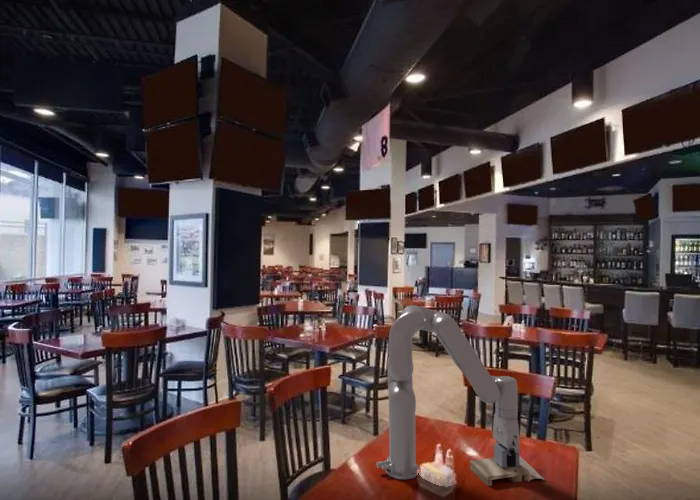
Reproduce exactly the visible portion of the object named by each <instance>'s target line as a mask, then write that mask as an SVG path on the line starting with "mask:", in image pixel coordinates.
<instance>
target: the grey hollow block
mask: <svg viewBox="0 0 700 500" xmlns="http://www.w3.org/2000/svg"><path fill="white" fill-rule="evenodd" d="M493 445H494V446H493V450H494V451H493V455H494V456H493V458H494V461H495V462H496V463H497V464H498V465H500V466H501V467H502V468H503V467H508V466H507V455H508V450H507V448H506V447H504V446H503V445H502V444H497V443H496V444H493ZM512 446H513V444H512ZM510 450H511V451H512V450H513V448H510ZM519 456H520V452H518V453H517V455H516V466H517V465H520V461H519Z"/></svg>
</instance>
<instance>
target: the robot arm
mask: <svg viewBox="0 0 700 500" xmlns="http://www.w3.org/2000/svg"><path fill="white" fill-rule="evenodd" d="M420 330H421V331H425V332H430V333H434V334H435V336H436V337H437V338H438V340H439V341H440V343H441V345H442V346H443V347H444V349H445V350H446V352H447V354H448V356H449V357H450V358H451V360H452V362H453V363H454V364H455V366H456V367H457V368H458V369H459V370H460V371H461V373H462V374H463V375H464V377H465V378H466V380H467V381H468V382H469V384H470V386H471V387H472V388H473V391H474V392H475V393H476V395H477V396H478V398H479V400H481V401H482V402H484V403H485V404H494V403H495V405H494V406H495V412H494V416H493V425H492V427H493V428H492V431H493V432H492V437H493V439H494V440H495V441H496V444H502V445H503V446H504V447H506V448H507V450H508V455H507V466H508V467H511V466H516V455H517V453H518V452H519V453H521V447H520V429H519V420H518V417H519V416H518V381H517V379H516V378H514V377H513V376H512V377H511V376H509V375H500V376H497V375H495V376H494V375H491V374H490V371H488V369H487V368H486V366H485V365H484V364H483V362H482V361H481V359H480V356H478V353H477V352H476V350H475V349H474V347H473V346H472V345H471V343H470V341H469V340H468V338H467V337H466V336H465V334H464V332H463V331H462V329H461V328H460V327H459V324H458V323H457V322H456V321H455V319H454V318H453V317H452V316H451V315H450V314H448V313H446V312H443V311H438V310H434V309H430V308H428V307H427V308H426V307H422V306H419V305H414V304H413V305H412V304H411V305H407V306H406V307H404V309H403V310H402V312H401V315H400V316H399V317H398V318H396V320H394V322H393V323H392V325H391V327H390V329H389V335H388V357H387V361H386V363H387V365H386V368H387V369H386V370H387V392H388V395H387V396H388V432H389V433H388V438H389V440H388V447H389V448H388V449H389V451H388V454H389V455H388V456H386V459H385V460H384V461H381V460H380V461H376V464H375V465H376V468H381V469H382V470H385V473H386V474H387V475H388V476H389V477H391V478H394V479H396V480H405V481H406V480H412V479H415V478H417V477H416V475H417V470H418V467H419V468H420V466H419V465H418V464H417V463H416V462H417V461H416V408H417V404H416V403H417V401H416V394H415V391H414V387H413V373H414V362H413V338H414V336H415V335H416V334H417V333H418V332H419V331H420ZM512 444H513V446H512ZM510 448H513V450H512V451H511V450H510Z"/></svg>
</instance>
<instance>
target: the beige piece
mask: <svg viewBox="0 0 700 500" xmlns="http://www.w3.org/2000/svg"><path fill="white" fill-rule="evenodd" d="M519 461H520V465H522V466H523V467H524V468H526V469H527V470H528V471H529V479H527V480H526V481H527V482H530V481H532V480H535V479H540V480H541V481H544V482H545V481H546V479H545V478H544V477H543V476H542V475H540V473H538V472H537V471H536V469H535V468H533V467H532V466H531V465H530V464H529V463H528V462H527V461H526V460H525V459H524V458H523V457H521V455H519Z"/></svg>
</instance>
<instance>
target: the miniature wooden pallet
mask: <svg viewBox="0 0 700 500" xmlns="http://www.w3.org/2000/svg"><path fill="white" fill-rule="evenodd" d="M469 470H470V471H471V472H472V473H473V474H475V475H476V477H477V478H479V479H480V481H481V482H482V483H484V484H485V485H486V486H487V487H491V486H493V480H498V479H500V480H501V479H506V478H507V479H508V480H510V481H511V482H512V483H518V482H519V483H520V482H522V481H527V479H529V471H528V470H527V469H526V468H524V467H523V466H522V465H517V466H511V467H503V468H502V467H501V466H500V465H498V464H497V463H496V462H495V461H494V457H487V458H483V459H482V458H481V459H473V460H470V461H469Z"/></svg>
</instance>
